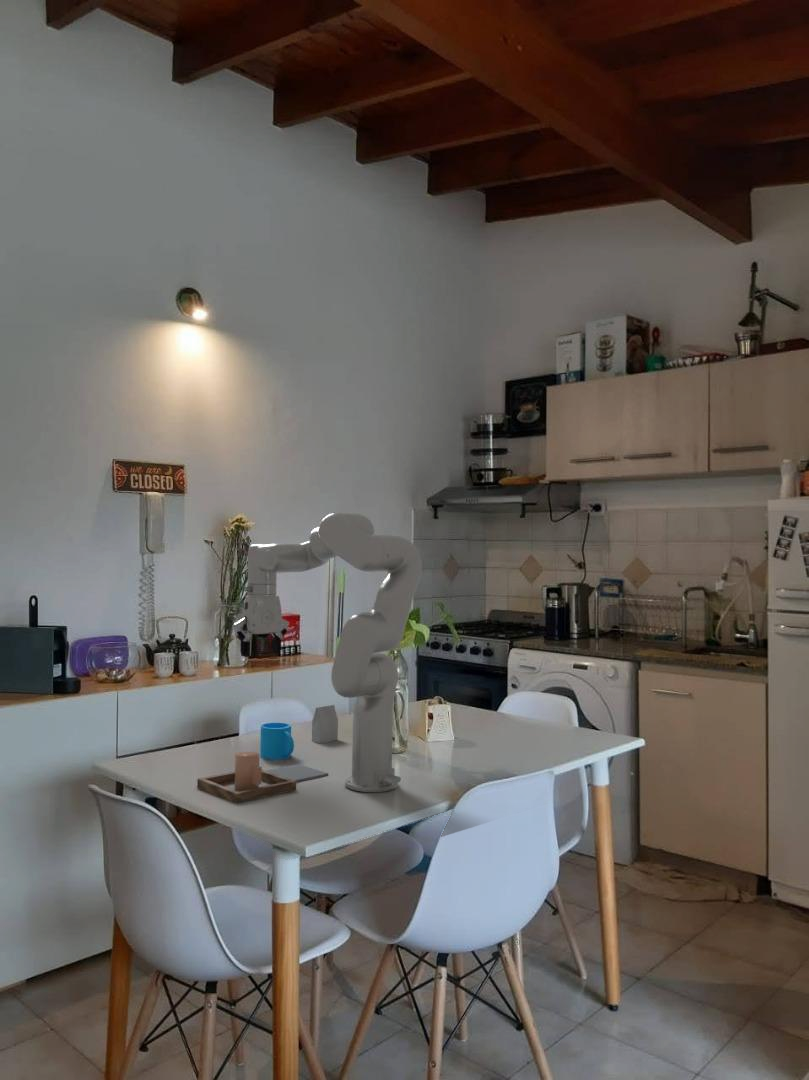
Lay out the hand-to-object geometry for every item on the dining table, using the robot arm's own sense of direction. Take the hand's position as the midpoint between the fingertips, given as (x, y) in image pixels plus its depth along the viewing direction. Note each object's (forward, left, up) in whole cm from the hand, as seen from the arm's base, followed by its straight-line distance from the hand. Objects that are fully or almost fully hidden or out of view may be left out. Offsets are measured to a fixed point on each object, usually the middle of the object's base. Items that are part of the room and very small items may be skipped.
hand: (260, 655), depth 237 cm
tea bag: (+7, -28, -28) cm, 40 cm away
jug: (-23, +18, -28) cm, 40 cm away
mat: (-18, +2, -28) cm, 33 cm away
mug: (-1, -6, -28) cm, 28 cm away
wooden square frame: (-21, +18, -28) cm, 40 cm away
